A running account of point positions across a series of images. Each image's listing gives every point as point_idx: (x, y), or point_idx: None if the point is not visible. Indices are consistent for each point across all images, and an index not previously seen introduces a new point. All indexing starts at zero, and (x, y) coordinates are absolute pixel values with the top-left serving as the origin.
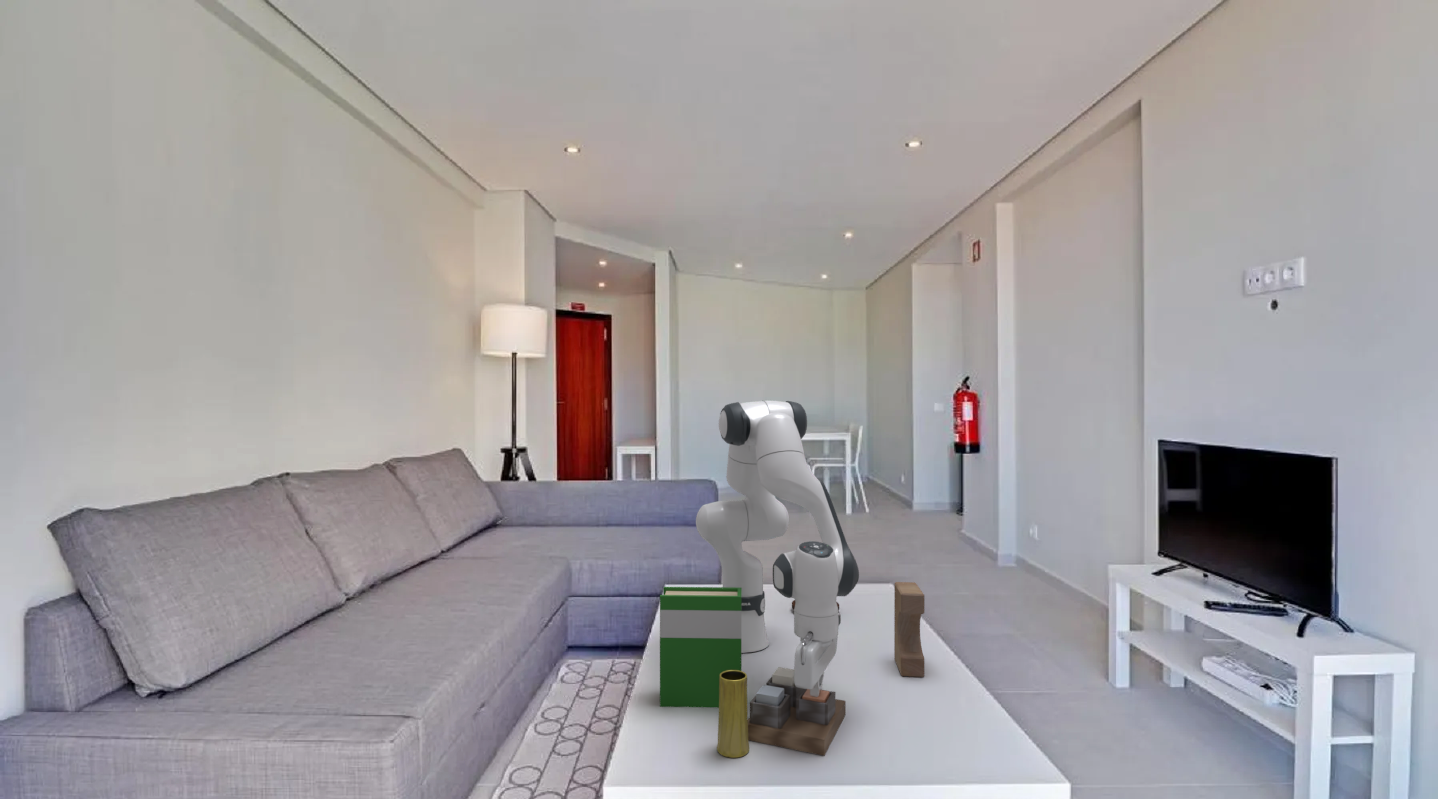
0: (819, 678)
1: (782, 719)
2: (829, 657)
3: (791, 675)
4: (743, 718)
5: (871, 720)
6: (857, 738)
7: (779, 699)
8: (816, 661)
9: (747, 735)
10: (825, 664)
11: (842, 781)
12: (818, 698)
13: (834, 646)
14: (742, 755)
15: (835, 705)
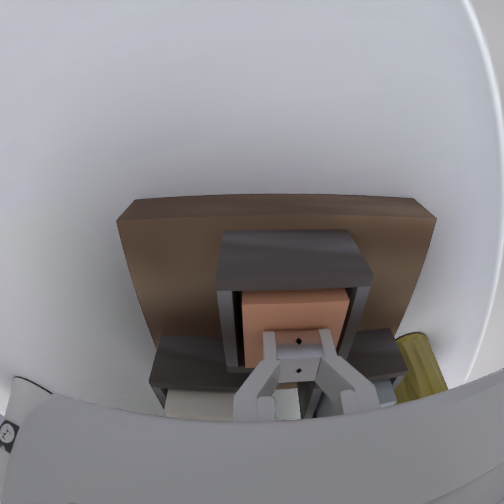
0: (346, 395)
1: (383, 343)
2: (184, 461)
3: (218, 420)
4: (444, 389)
5: (127, 112)
6: (282, 120)
7: (376, 391)
8: (484, 474)
9: (423, 359)
10: (307, 454)
11: (492, 144)
12: (337, 321)
13: (53, 451)
14: (425, 335)
15: (172, 242)
